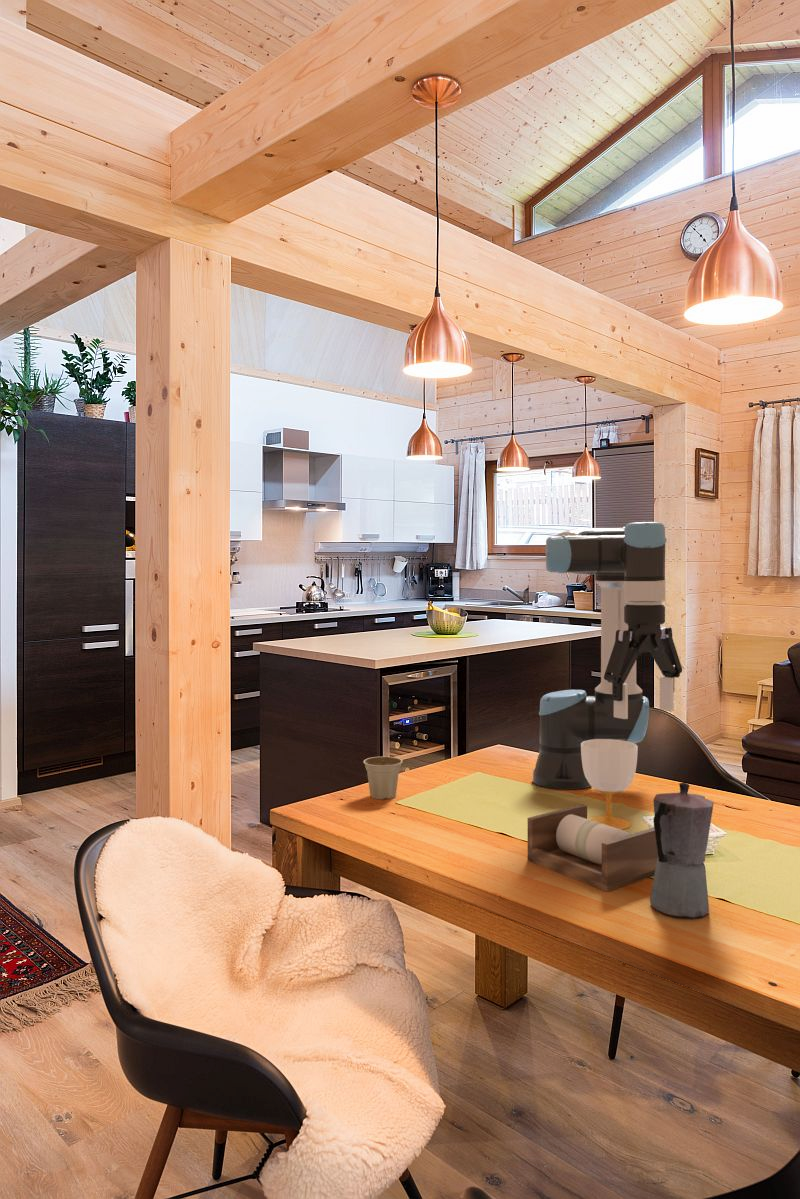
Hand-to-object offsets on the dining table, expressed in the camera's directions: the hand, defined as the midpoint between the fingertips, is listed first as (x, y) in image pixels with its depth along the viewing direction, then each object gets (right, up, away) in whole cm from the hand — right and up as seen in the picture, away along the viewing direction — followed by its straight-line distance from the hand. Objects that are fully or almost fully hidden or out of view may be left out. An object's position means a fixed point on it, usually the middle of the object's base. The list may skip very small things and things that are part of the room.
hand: (644, 714), depth 157 cm
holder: (-12, -27, -8) cm, 30 cm away
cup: (-2, -26, +17) cm, 31 cm away
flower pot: (-51, -26, +40) cm, 70 cm away
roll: (-12, -26, -8) cm, 29 cm away
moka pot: (-3, -27, -27) cm, 39 cm away
